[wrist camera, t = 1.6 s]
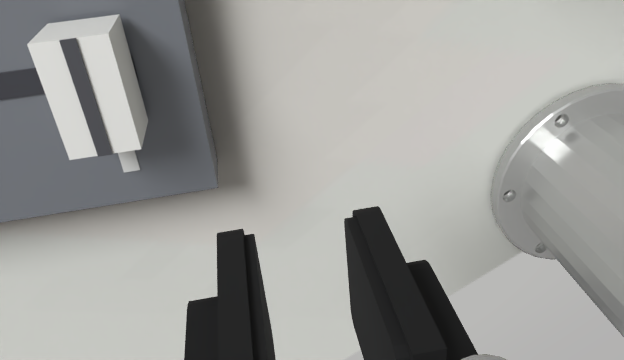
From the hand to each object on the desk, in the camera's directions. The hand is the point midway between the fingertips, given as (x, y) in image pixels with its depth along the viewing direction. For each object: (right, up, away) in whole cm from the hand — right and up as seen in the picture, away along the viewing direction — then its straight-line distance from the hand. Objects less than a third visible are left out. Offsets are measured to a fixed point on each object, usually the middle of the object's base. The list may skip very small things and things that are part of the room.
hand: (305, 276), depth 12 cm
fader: (-9, +7, +13) cm, 17 cm away
